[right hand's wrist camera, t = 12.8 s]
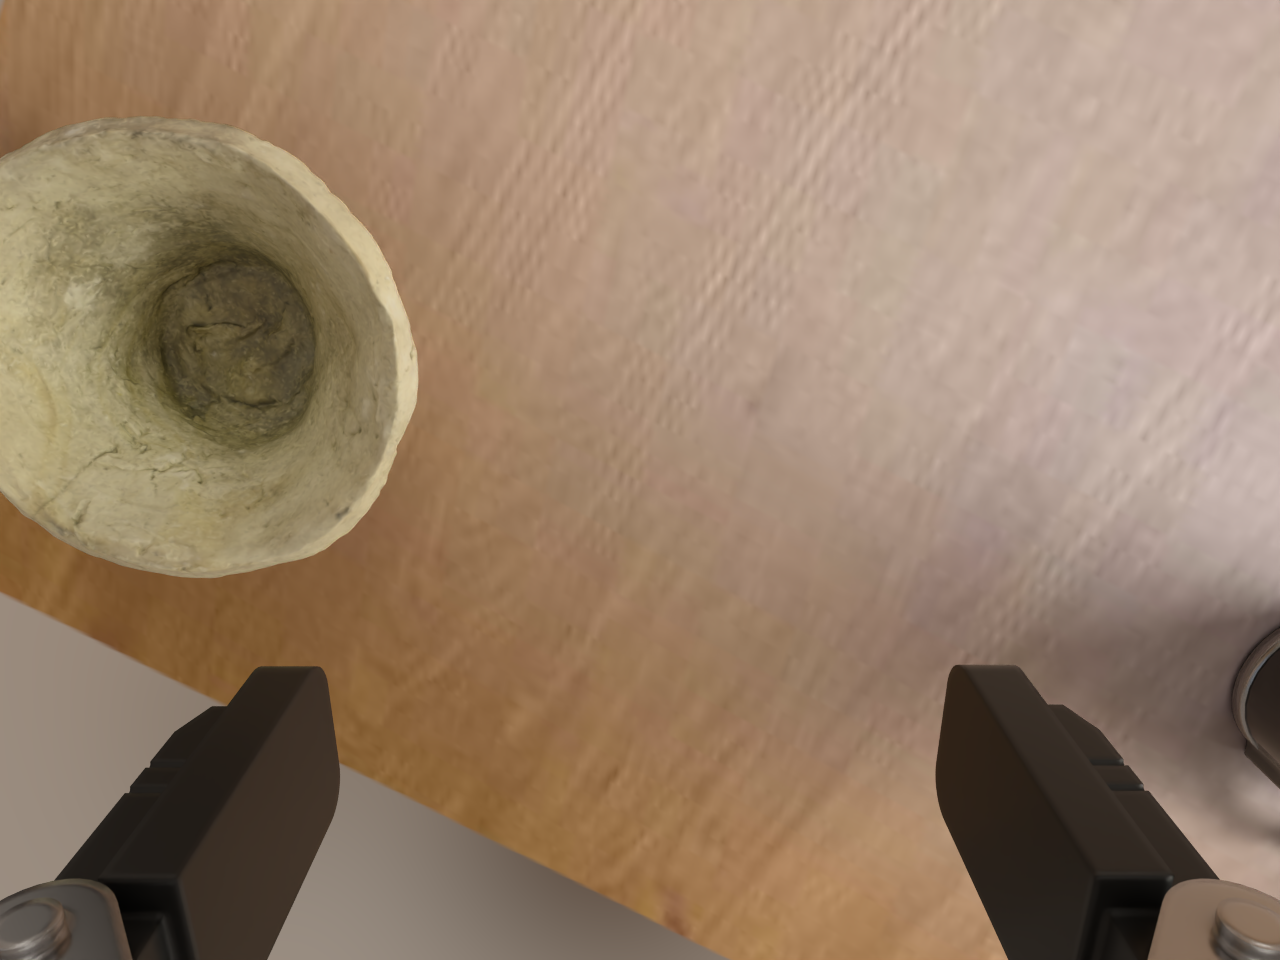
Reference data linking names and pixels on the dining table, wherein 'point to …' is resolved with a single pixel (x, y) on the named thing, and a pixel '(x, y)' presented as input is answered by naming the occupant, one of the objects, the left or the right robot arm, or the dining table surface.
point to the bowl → (192, 348)
